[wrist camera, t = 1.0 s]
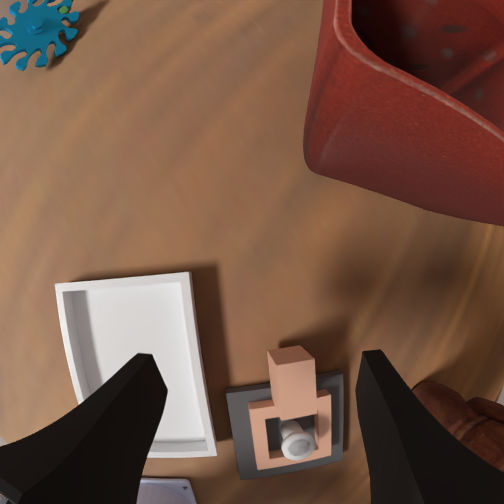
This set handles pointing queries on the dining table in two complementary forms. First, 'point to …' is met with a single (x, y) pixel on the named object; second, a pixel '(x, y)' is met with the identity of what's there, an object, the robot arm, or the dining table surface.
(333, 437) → the grey plate with knob
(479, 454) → the wooden figurine
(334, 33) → the plant pot
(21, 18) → the gear
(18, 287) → the dining table surface
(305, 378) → the ring
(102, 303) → the tray
